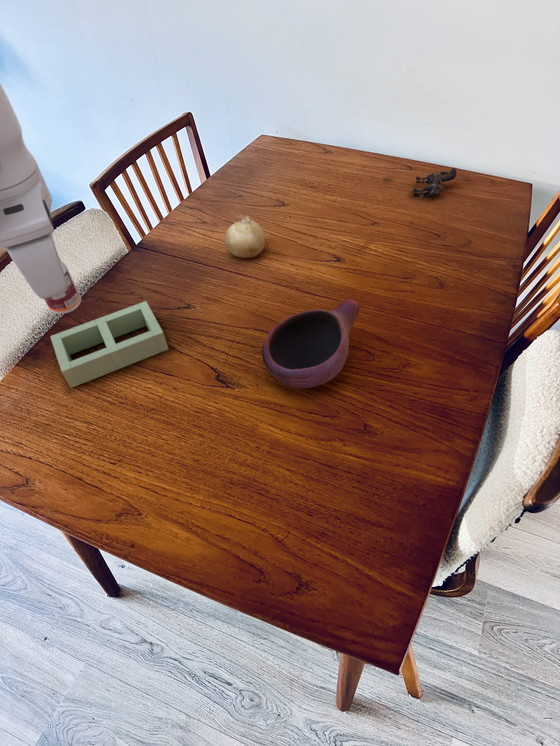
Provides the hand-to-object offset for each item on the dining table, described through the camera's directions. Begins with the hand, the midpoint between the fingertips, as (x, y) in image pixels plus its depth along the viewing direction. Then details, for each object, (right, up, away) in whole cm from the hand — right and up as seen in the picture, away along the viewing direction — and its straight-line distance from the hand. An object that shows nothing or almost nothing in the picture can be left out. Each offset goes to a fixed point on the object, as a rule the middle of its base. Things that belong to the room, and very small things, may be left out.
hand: (54, 283), depth 74 cm
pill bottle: (0, -3, +3) cm, 4 cm away
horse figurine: (+63, +27, +40) cm, 79 cm away
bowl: (+37, -11, +9) cm, 40 cm away
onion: (+26, +11, +29) cm, 41 cm away
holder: (+4, -9, +13) cm, 16 cm away
